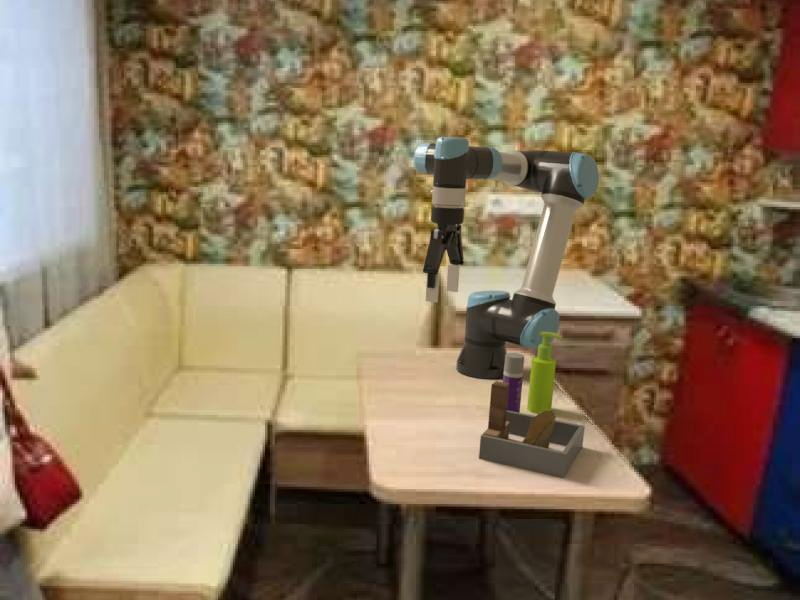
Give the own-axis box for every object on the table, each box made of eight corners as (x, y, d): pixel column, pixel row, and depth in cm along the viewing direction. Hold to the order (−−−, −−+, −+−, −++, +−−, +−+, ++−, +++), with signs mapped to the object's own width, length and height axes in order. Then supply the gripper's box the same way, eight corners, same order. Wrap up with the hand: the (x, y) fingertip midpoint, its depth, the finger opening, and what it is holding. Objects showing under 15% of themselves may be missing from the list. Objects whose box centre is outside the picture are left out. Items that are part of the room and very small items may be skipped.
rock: (528, 458, 161) (568, 446, 165) (513, 418, 164) (553, 407, 168) (506, 470, 171) (545, 458, 175) (493, 432, 173) (531, 421, 177)
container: (518, 418, 190) (524, 359, 186) (499, 416, 191) (504, 356, 187) (519, 412, 194) (525, 353, 191) (500, 410, 195) (505, 351, 192)
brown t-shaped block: (495, 435, 179) (500, 376, 176) (508, 438, 177) (513, 379, 174) (481, 451, 170) (486, 389, 167) (494, 454, 168) (500, 391, 165)
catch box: (504, 430, 182) (506, 410, 181) (582, 447, 175) (584, 425, 174) (478, 458, 166) (480, 435, 165) (563, 477, 159) (566, 454, 158)
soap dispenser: (549, 417, 192) (557, 337, 188) (523, 410, 196) (530, 332, 191) (558, 410, 197) (566, 333, 193) (532, 404, 200) (539, 328, 196)
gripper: (451, 200, 193) (445, 285, 198) (411, 208, 171) (406, 304, 176) (480, 203, 191) (474, 289, 195) (444, 211, 168) (438, 308, 173)
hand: (442, 296), depth 185 cm, fingers open, 13 cm apart
